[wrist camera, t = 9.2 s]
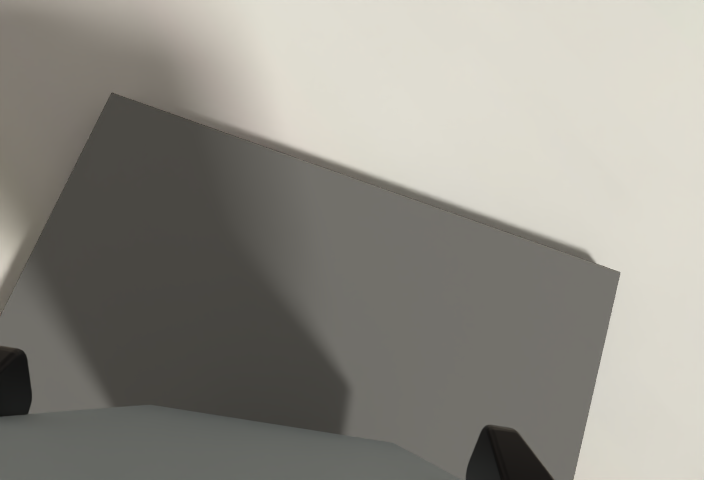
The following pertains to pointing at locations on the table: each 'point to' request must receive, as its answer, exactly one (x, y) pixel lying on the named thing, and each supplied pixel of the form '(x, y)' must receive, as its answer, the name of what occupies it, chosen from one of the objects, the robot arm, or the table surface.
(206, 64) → the table surface
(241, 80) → the table surface
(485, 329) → the pad
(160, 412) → the tall grey pillar
